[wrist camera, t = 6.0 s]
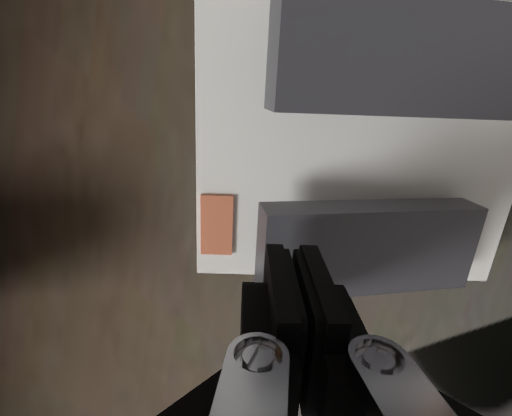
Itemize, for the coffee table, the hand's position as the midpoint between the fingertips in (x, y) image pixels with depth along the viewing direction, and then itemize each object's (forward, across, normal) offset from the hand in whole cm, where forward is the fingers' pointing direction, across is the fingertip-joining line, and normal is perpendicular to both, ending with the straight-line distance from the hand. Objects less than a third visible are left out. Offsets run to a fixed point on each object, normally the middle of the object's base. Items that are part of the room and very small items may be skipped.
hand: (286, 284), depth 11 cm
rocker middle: (+3, -4, -7) cm, 9 cm away
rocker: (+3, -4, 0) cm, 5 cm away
